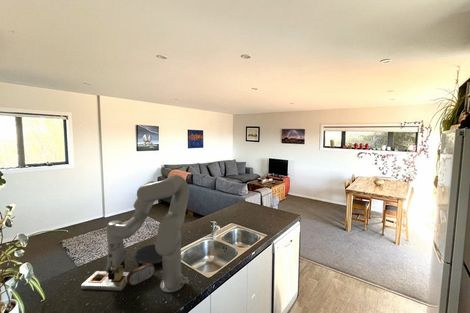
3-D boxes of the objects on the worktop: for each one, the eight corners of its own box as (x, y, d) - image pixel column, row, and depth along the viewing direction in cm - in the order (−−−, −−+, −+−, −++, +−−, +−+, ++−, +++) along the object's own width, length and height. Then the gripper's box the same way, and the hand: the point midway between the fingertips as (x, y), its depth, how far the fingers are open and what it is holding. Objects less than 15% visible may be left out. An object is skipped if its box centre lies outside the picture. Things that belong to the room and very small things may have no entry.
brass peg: (123, 280, 124) (122, 265, 123) (119, 285, 120) (118, 269, 119) (116, 279, 125) (115, 264, 124) (112, 284, 121) (111, 269, 120)
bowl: (160, 246, 160) (160, 240, 160) (176, 260, 145) (176, 253, 144) (128, 258, 145) (128, 251, 144) (142, 275, 130) (142, 267, 129)
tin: (153, 273, 130) (153, 260, 129) (156, 276, 128) (155, 262, 127) (126, 286, 120) (125, 271, 119) (128, 289, 117) (128, 274, 116)
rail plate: (133, 275, 128) (133, 271, 128) (121, 290, 116) (121, 286, 116) (96, 274, 129) (96, 270, 129) (81, 288, 117) (81, 284, 117)
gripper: (112, 252, 111) (114, 284, 113) (130, 236, 128) (131, 264, 130) (98, 252, 112) (99, 283, 114) (118, 236, 129) (119, 263, 131)
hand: (116, 273), depth 122 cm, fingers open, 9 cm apart
